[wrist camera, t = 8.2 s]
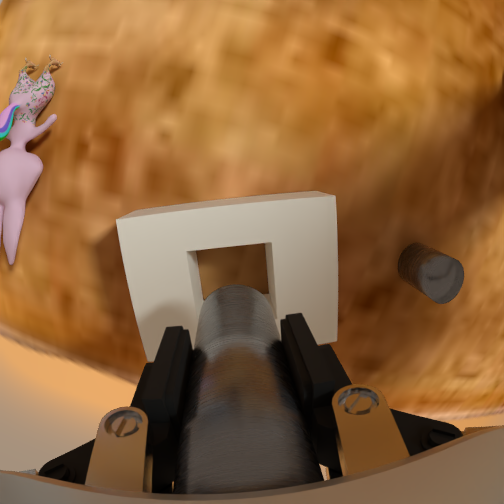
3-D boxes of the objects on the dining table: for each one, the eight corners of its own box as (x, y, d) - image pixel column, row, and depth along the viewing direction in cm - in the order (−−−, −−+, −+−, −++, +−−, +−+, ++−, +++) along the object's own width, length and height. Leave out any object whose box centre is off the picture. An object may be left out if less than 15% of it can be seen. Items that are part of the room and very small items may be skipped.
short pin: (431, 241, 22) (466, 255, 18) (428, 279, 23) (460, 299, 19) (398, 245, 22) (431, 261, 18) (396, 284, 23) (427, 307, 18)
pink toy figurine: (27, 74, 18) (-10, 253, 19) (-10, 46, 12) (-58, 262, 13) (87, 70, 18) (47, 267, 19) (55, 33, 12) (0, 281, 13)
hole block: (315, 190, 20) (335, 195, 17) (320, 314, 23) (337, 341, 19) (135, 210, 20) (115, 219, 16) (159, 331, 22) (147, 361, 18)
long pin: (270, 280, 13) (363, 537, 3) (274, 345, 14) (337, 579, 4) (194, 288, 13) (136, 554, 3) (205, 352, 14) (190, 592, 3)
